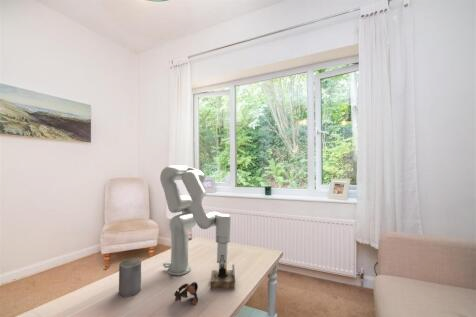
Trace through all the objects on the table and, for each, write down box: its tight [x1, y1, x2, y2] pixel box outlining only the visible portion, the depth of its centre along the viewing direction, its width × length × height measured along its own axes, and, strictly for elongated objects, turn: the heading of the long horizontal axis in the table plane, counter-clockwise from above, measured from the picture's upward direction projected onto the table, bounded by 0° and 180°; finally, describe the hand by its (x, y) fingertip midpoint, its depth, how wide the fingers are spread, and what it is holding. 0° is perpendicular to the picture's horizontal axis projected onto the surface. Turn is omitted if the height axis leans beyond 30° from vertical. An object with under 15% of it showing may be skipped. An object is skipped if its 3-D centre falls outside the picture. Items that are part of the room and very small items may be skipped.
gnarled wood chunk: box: [173, 281, 199, 306], centre depth 105 cm, size 12×10×8 cm
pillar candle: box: [118, 258, 142, 298], centre depth 112 cm, size 10×10×15 cm
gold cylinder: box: [218, 262, 228, 278], centre depth 121 cm, size 4×4×10 cm
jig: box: [209, 264, 236, 290], centre depth 121 cm, size 12×12×6 cm
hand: (222, 271), depth 121 cm, fingers open, 9 cm apart
